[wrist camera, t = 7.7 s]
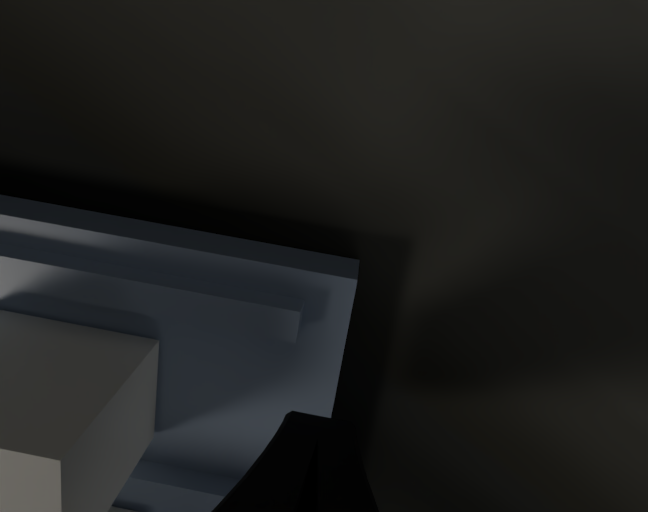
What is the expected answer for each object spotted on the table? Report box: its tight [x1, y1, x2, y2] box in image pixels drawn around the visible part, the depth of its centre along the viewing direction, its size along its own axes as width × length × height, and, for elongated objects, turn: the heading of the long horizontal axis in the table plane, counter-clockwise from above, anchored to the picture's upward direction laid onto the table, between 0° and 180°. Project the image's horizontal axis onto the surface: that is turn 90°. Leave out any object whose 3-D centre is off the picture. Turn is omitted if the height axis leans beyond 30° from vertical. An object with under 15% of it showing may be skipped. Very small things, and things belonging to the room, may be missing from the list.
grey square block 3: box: [0, 310, 159, 512], centre depth 10 cm, size 3×4×4 cm, turn 81°
